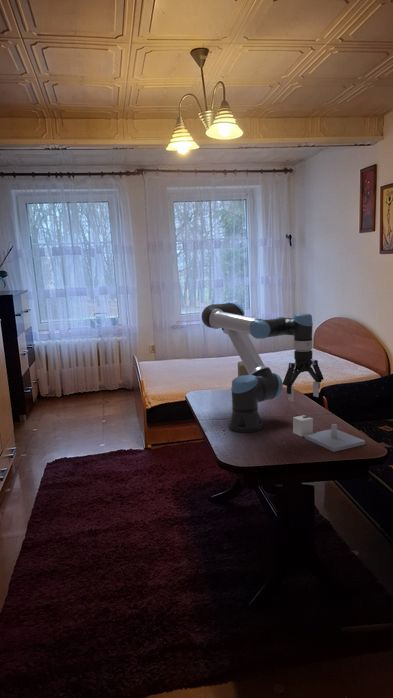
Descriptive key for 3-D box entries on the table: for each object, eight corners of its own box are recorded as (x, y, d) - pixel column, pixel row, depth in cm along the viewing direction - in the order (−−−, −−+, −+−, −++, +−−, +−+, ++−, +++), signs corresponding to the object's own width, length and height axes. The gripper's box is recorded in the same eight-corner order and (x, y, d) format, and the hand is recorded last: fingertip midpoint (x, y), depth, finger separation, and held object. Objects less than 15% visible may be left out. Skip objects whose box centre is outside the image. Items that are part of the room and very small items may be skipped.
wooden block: (255, 393, 271) (254, 360, 268) (257, 398, 261) (257, 363, 258) (238, 394, 271) (237, 361, 268) (240, 399, 261) (239, 364, 258)
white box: (301, 436, 195) (301, 419, 194) (293, 432, 201) (292, 416, 200) (312, 434, 198) (312, 417, 197) (304, 430, 203) (304, 413, 202)
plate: (333, 451, 177) (333, 434, 176) (304, 438, 193) (304, 422, 192) (365, 444, 184) (365, 427, 183) (334, 431, 200) (334, 416, 199)
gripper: (284, 354, 186) (285, 405, 189) (332, 348, 197) (331, 396, 200) (273, 352, 193) (274, 401, 196) (320, 346, 204) (320, 392, 207)
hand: (303, 398), depth 198 cm, fingers open, 13 cm apart
